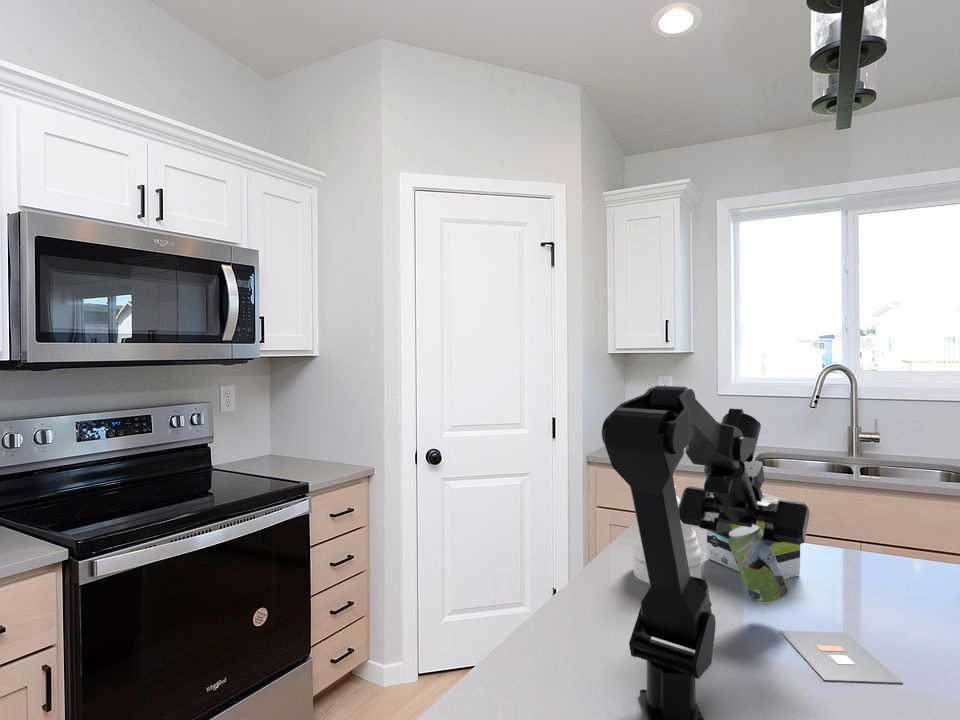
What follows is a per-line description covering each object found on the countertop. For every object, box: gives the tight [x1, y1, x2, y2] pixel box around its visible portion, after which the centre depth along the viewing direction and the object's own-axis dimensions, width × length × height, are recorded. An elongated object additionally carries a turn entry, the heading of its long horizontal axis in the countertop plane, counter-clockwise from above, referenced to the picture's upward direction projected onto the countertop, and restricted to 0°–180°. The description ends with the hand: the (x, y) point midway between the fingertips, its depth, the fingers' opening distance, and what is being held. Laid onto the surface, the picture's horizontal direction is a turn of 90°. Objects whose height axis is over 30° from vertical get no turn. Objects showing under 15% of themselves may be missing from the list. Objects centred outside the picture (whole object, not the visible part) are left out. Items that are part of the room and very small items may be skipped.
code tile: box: [779, 630, 904, 685], centre depth 87 cm, size 14×10×1 cm
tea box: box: [706, 492, 801, 580], centre depth 121 cm, size 15×10×15 cm, turn 25°
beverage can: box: [728, 525, 789, 605], centre depth 98 cm, size 6×7×12 cm
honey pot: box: [632, 485, 703, 585], centre depth 118 cm, size 13×13×18 cm
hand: (750, 541), depth 100 cm, fingers closed on beverage can, 6 cm apart
